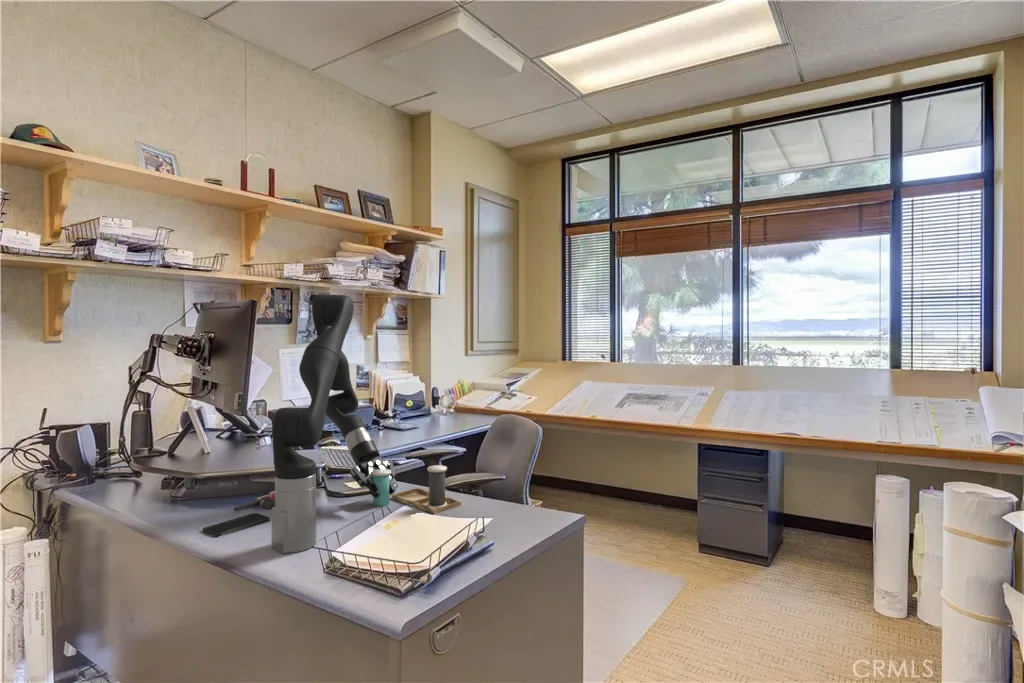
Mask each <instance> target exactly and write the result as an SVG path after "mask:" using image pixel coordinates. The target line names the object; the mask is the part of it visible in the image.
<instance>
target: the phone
mask: <svg viewBox="0 0 1024 683" xmlns="http://www.w3.org/2000/svg"><path fill="white" fill-rule="evenodd" d="M270 522H271V517H270V516H268V515H267V516H266V515H263V514H260V513H257V512H256V513H255V512H254V513H250V514H246V515H243V516H239V517H237V518H232V519H228V520H226V521H222V522H219V523H215V524H211V525H208V526H205V527H203V528H202V533H203V534H204V533H205V534H206V533H207V535H209V534H210V536H212V535H213V536H212V537H214V536H215V537H214V538H220V537H219V536H222V537H224V536H223V535H225V536H227V534H228V535H230V533H231V534H234V532H235V533H237V532H240V531H243V530H246V529H250V528H253V527H254V528H255V527H257V526H260V525H263V524H267V523H270Z"/></svg>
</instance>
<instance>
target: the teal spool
mask: <svg viewBox="0 0 1024 683" xmlns="http://www.w3.org/2000/svg"><path fill="white" fill-rule="evenodd" d="M371 474H372V475H373V480H374V483H375V485H376V487H377V489H378V491H379V493H380V495H379V497H378V498H374V497H373V496H372V499H373V500H372V505H373V506H374V507H381V508H382V507H386V506H387V507H388V506H389V505H390V494H389V474H391V470H389V469H377V470H373V471H372V472H371ZM374 483H373V484H374Z"/></svg>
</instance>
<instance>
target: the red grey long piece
mask: <svg viewBox="0 0 1024 683" xmlns="http://www.w3.org/2000/svg"><path fill="white" fill-rule="evenodd" d="M258 504H259V505H258ZM257 505H258V506H259V507H264V506H265V507H264V508H266V509H272V508H273V507H275V490H272V491H269V492H268V494H266V495H263V496H260V497H259V496H258V497H256V499H255V500H254V501H251V502H247V503H244V504H241V505H236V506H234V507H233V510H234V511H238V510H241V509H244V508H248V507H252V506H257Z"/></svg>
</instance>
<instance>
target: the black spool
mask: <svg viewBox="0 0 1024 683" xmlns="http://www.w3.org/2000/svg"><path fill="white" fill-rule="evenodd" d="M426 470H427V472H428V491H429V502H428V503H427V506H429V507H432V508H435V509H436V508H439V507H442V506H446V505H447V503H446V502H445V496H446V471H447V470H448V467H447V466H445V465H441V464H438V465H437V464H435V465H430V466H428V467H427V469H426Z"/></svg>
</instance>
